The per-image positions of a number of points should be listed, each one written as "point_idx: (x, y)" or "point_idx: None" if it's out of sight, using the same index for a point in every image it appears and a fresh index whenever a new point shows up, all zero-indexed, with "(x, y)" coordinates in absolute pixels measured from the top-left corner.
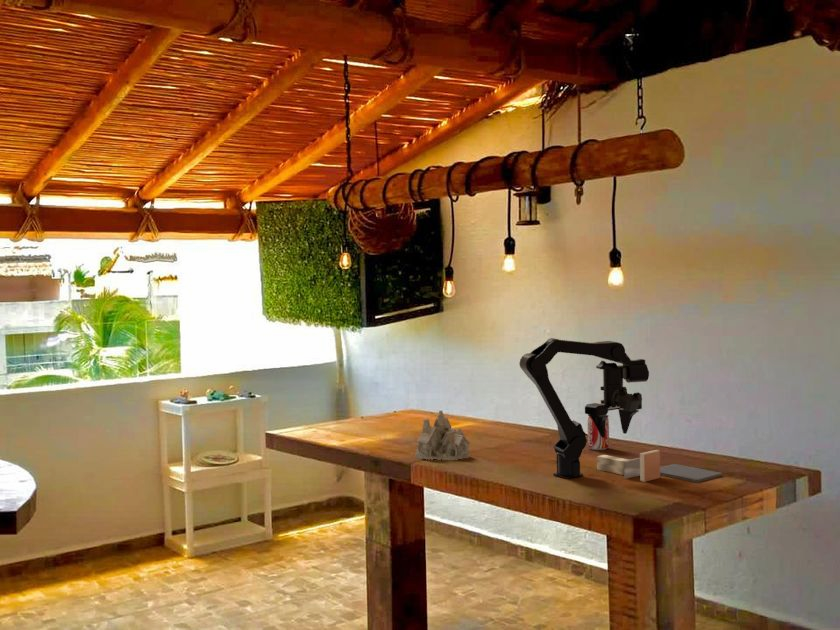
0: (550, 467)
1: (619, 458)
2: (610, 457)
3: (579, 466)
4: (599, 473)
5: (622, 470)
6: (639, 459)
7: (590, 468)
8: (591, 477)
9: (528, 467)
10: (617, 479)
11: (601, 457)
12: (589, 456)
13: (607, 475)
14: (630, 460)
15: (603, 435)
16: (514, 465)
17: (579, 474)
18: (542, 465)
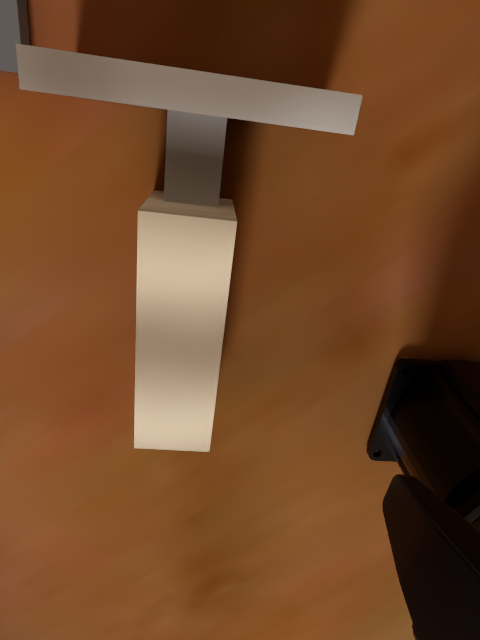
0: (320, 545)
1: (157, 303)
2: (176, 371)
3: (476, 389)
4: (289, 329)
5: (231, 205)
6: (143, 63)
7: (217, 428)
8: (406, 305)
9: (372, 589)
10: (371, 144)
11: (213, 415)
12: (5, 563)
13: (306, 265)
14: (284, 90)
15: (435, 496)
16: (370, 629)
17: (449, 360)
18: (307, 579)
